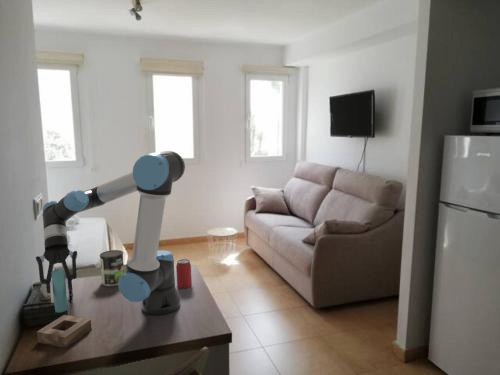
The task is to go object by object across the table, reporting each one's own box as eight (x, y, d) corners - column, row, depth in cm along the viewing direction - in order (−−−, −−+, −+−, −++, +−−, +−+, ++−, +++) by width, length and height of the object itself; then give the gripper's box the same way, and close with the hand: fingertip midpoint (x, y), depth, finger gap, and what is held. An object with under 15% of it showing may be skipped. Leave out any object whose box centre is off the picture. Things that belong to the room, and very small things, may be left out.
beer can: (174, 286, 171) (173, 261, 169) (186, 281, 175) (185, 257, 173) (182, 290, 166) (181, 265, 164) (194, 286, 170) (193, 261, 169)
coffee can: (129, 280, 178) (127, 251, 176) (111, 288, 170) (109, 258, 167) (115, 275, 184) (113, 248, 181) (97, 283, 175) (94, 254, 173)
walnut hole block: (91, 329, 135) (90, 319, 134) (66, 348, 124) (65, 337, 123) (65, 324, 138) (64, 314, 138) (38, 342, 127) (36, 331, 127)
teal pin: (70, 307, 131) (67, 270, 128) (61, 313, 127) (57, 274, 125) (61, 306, 132) (57, 268, 130) (52, 311, 128) (48, 273, 126)
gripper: (81, 241, 144) (87, 298, 132) (30, 248, 136) (32, 309, 124) (80, 231, 138) (87, 290, 126) (27, 237, 130) (29, 301, 119)
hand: (60, 299), depth 125 cm, fingers closed on teal pin, 4 cm apart
